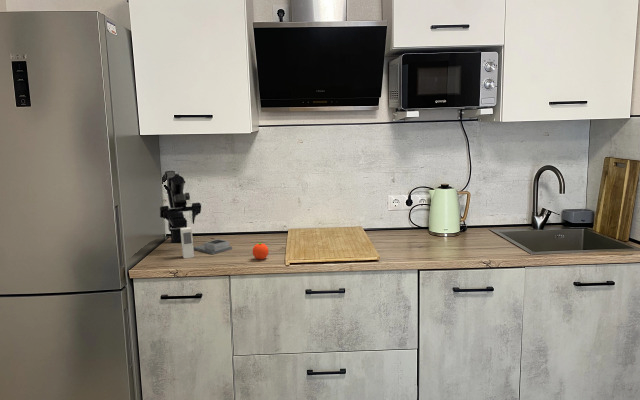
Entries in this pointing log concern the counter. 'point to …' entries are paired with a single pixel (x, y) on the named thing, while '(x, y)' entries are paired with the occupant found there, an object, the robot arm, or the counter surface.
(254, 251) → the clementine
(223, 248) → the dock
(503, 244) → the counter surface
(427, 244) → the counter surface
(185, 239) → the white handset
